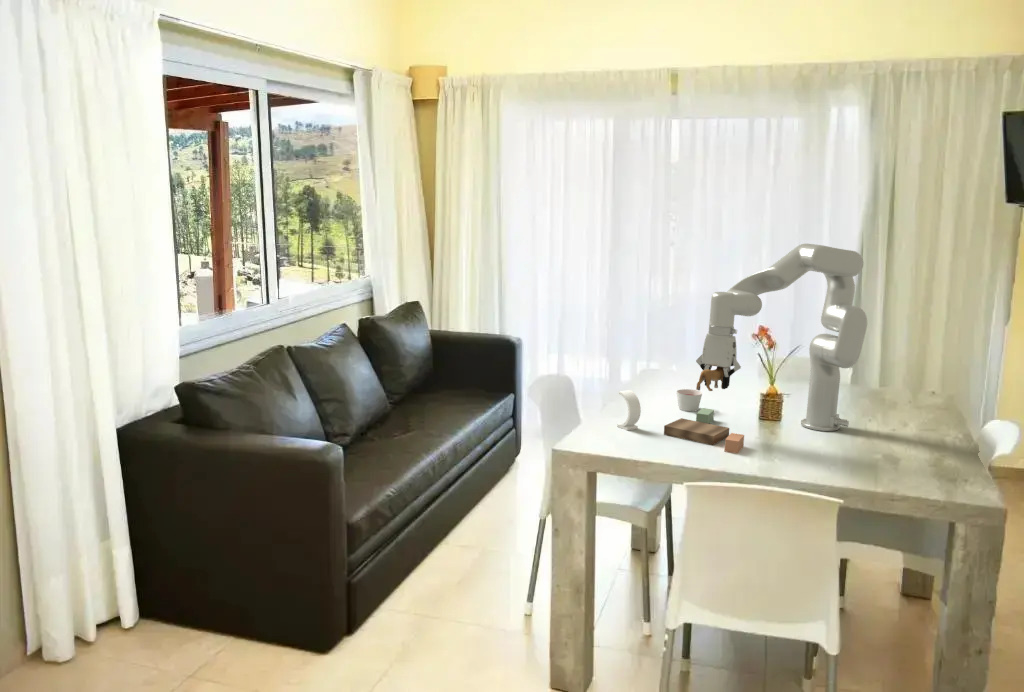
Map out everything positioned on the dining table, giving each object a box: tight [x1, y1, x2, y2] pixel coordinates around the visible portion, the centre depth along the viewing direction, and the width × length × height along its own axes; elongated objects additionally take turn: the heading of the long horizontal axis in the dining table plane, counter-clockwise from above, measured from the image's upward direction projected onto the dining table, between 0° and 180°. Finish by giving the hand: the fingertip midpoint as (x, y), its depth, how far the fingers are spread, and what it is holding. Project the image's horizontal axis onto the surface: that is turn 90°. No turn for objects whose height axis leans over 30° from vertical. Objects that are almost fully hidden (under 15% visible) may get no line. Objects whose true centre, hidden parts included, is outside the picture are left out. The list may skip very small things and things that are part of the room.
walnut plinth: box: [663, 417, 730, 446], centre depth 273 cm, size 17×12×3 cm
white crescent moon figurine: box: [617, 389, 642, 431], centre depth 280 cm, size 5×6×12 cm
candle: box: [676, 388, 703, 412], centre depth 306 cm, size 9×9×6 cm
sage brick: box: [695, 407, 715, 424], centre depth 290 cm, size 8×4×4 cm, turn 153°
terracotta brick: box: [724, 432, 745, 455], centre depth 260 cm, size 8×4×4 cm, turn 153°
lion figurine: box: [695, 366, 725, 392], centre depth 271 cm, size 15×5×9 cm, turn 131°
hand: (716, 386), depth 273 cm, fingers closed on lion figurine, 5 cm apart
